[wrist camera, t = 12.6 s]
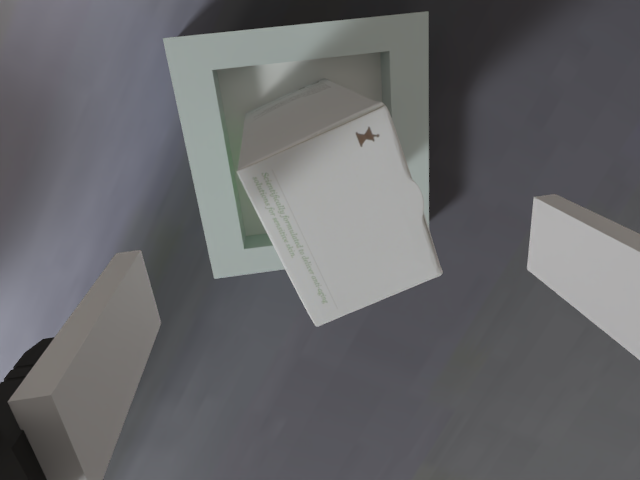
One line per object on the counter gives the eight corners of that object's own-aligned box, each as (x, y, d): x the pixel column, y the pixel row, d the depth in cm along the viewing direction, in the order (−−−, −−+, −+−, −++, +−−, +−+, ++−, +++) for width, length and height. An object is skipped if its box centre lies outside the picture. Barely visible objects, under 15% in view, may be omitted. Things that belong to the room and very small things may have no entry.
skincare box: (243, 112, 31) (222, 162, 16) (332, 72, 30) (389, 89, 16) (292, 217, 34) (310, 335, 20) (373, 183, 34) (450, 278, 19)
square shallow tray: (219, 258, 36) (214, 278, 33) (174, 40, 30) (162, 38, 26) (414, 232, 37) (429, 249, 34) (411, 15, 30) (428, 11, 27)
